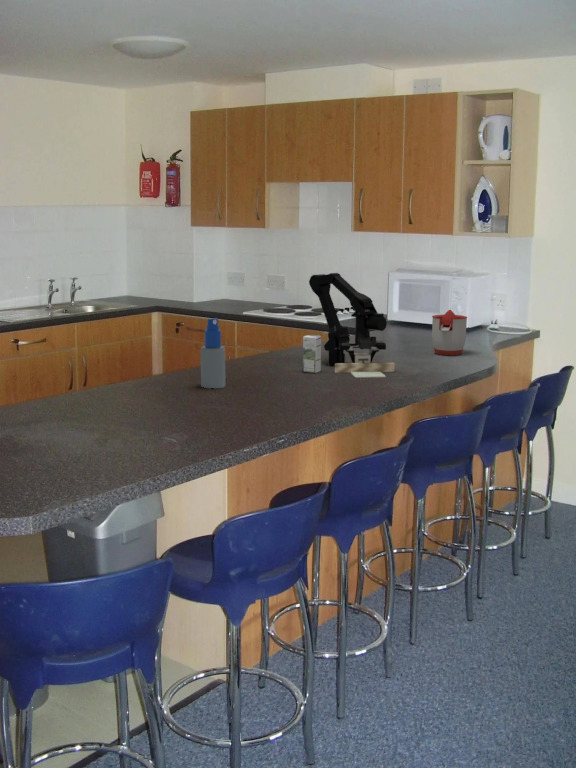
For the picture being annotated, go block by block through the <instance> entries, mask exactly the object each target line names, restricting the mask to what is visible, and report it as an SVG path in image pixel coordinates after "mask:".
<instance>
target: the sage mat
mask: <svg viewBox="0 0 576 768" xmlns="http://www.w3.org/2000/svg"><path fill="white" fill-rule="evenodd" d="M350 374H351V375H352V376H353V377H354V378H356V379H358V378H359V379H360V378H363V379H365V378H366V379H367V378H387V376H386V375H385V374H384V372H350Z"/></svg>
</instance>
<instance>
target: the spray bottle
mask: <svg viewBox="0 0 576 768" xmlns="http://www.w3.org/2000/svg"><path fill="white" fill-rule="evenodd" d="M200 387H201V388H203V387H204V389H211V388H214V389H223V388H225V387H226V348H225V346H223V345H222V330H221V329H220V326H219V320H218V317H212V318H207V325H206V329H205V330H204V345H203V346H201V348H200Z"/></svg>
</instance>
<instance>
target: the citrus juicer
mask: <svg viewBox="0 0 576 768" xmlns="http://www.w3.org/2000/svg"><path fill="white" fill-rule="evenodd" d="M431 318H432V325H431V327H432V328H431V329H432V330H431V341H432V346H433V351H434V353H435V354H437V355H441V356H442V355H445V356H453V357H456V356H458V355H461V354H462V353H463V351H464V347H465V345H466V340H467V339H466V338H467V322H468V321H467V319H468V316H467V315H466V316H465V315H461V314H455V313H454V311H452V310H451V309H448V310H447V311H446V312H445V313H444V314H433V315H432V316H431Z"/></svg>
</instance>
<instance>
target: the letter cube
mask: <svg viewBox="0 0 576 768" xmlns="http://www.w3.org/2000/svg"><path fill="white" fill-rule="evenodd" d="M354 359H355V363H370V361H371V356H370V355H369V352H368V353H367V352H363V353H361V352H360V353H359V352H358V353H357V352H354Z"/></svg>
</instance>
